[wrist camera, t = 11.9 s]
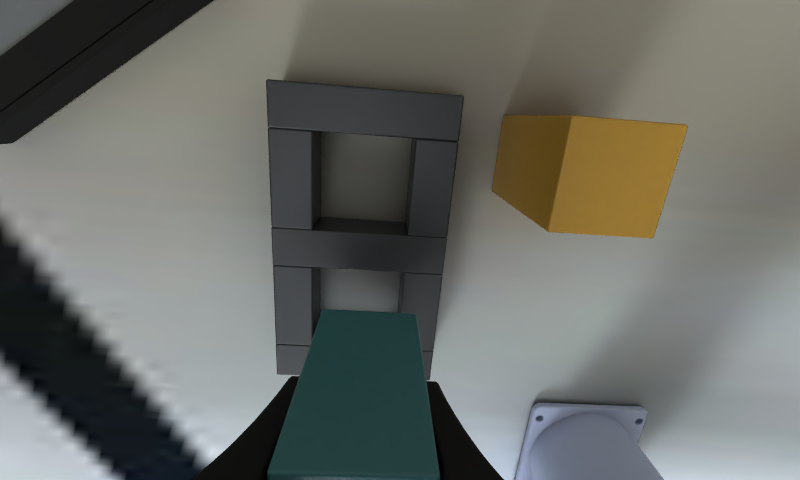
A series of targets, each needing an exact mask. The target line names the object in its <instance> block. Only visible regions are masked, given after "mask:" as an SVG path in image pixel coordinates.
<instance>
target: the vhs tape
mask: <svg viewBox="0 0 800 480" xmlns="http://www.w3.org/2000/svg"><path fill="white" fill-rule="evenodd" d="M211 1H213V0H0V144H8V143H13V142H15V141H16V140H17V139H19V138H20V137H22V136H23V135H24V134H26V133H27V132H29V131H30V130H32V129H33V128H34V127H36V126H37V125H39V124H40V123H41V122H43V121H44V120H46V119H47V118H48V117H50V116H51V115H53V114H54V113H55V112H57V111H58V110H60V109H61V108H62V107H64V106H65V105H67V104H68V103H69V102H71V101H72V100H74V99H75V98H76V97H78V96H79V95H81V94H82V93H83V92H85V91H86V90H88V89H89V88H91V87H92V86H93V85H95V84H96V83H98V82H99V81H100V80H102V79H103V78H105V77H106V76H107V75H109V74H110V73H112V72H113V71H114V70H116V69H117V68H119V67H120V66H121V65H123V64H124V63H126V62H127V61H128V60H130V59H131V58H133V57H134V56H135V55H137V54H138V53H140V52H141V51H142V50H144V49H145V48H147V47H148V46H150V45H151V44H152V43H154V42H155V41H157V40H158V39H159V38H161V37H162V36H164V35H165V34H166V33H168V32H169V31H171V30H172V29H173V28H175V27H176V26H178V25H179V24H180V23H182V22H183V21H185V20H186V19H187V18H189V17H190V16H192V15H193V14H194V13H196V12H197V11H199V10H200V9H201V8H203V7H204V6H206V5H207V4H208V3H210V2H211Z"/></svg>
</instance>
